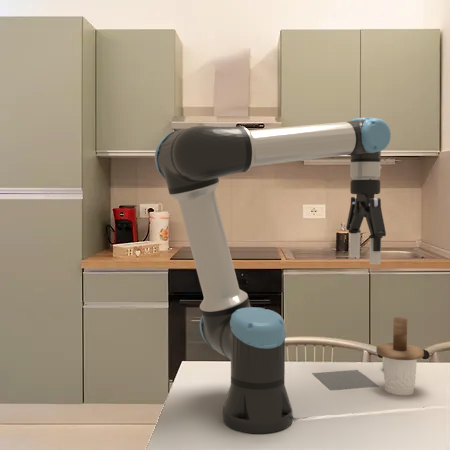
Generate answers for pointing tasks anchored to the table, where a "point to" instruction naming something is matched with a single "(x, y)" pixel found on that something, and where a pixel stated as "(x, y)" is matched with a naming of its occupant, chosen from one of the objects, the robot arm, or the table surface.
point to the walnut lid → (400, 344)
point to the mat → (344, 380)
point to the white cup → (399, 376)
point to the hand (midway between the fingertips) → (364, 260)
